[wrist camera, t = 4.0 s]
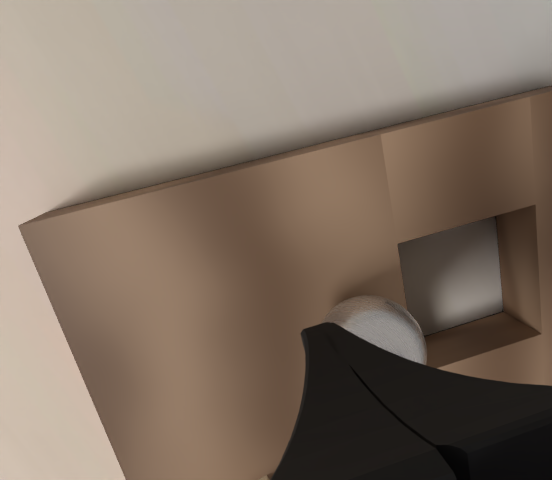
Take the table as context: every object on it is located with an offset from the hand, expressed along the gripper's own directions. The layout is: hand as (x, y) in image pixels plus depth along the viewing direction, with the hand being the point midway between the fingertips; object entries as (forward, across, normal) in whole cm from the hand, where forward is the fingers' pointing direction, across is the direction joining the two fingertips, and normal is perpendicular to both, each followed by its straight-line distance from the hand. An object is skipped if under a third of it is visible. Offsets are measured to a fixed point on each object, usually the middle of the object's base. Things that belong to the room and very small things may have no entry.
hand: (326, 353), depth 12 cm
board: (+3, -2, +2) cm, 4 cm away
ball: (0, -1, 0) cm, 1 cm away
